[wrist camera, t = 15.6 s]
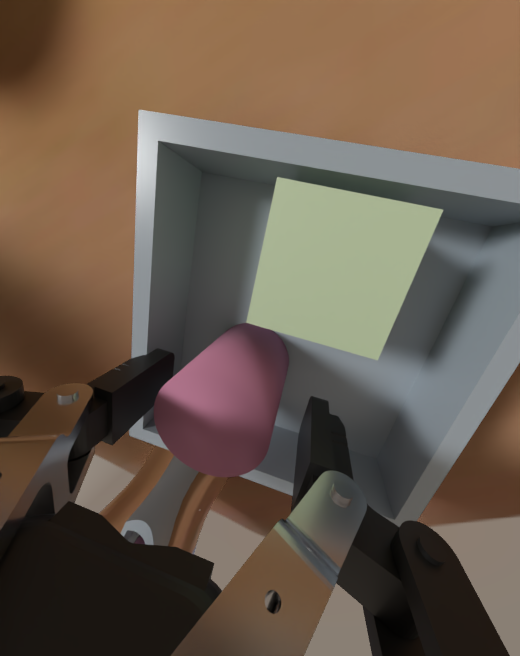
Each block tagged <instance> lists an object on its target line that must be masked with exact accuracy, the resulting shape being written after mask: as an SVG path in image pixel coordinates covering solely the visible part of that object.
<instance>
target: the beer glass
mask: <svg viewBox="0 0 520 656" xmlns="http://www.w3.org/2000/svg"><path fill="white" fill-rule="evenodd" d="M227 480H228V477H215V476H211V475H207V474H204V473H201V472H199V471H196V470H194V469H192V468H190V467H189V466H187V465H186V464H184V463H183V462H181V461H180V460H179V459H178V458H176V457H175V456H174V455H173V454H172V453H171V452H170V450H167V449H164V448H161V447H159V446H156V445H155V446H154V448H153V449H152V451H151V453H150V455H149V457H148V458H147V460H146V462H145V463H144V465H143V466H142V468H141V469H140V470H139V472H138V473H137V474H136V476H135V477H134V478H133V479H132V480H131V481H130V483H129V484H128V485H127V486H126V487H125V488H124V489H123V490H122V491H121V492H120V493H119V494H118V495H117V496H116V497H115V498H114V499H113V500H112V501H111V502H110V503H109V504H108V505H106V506H105V507H104V508H103V509H102V510H101V511H100V512H99V513H98V514H101V515H102V516H103V517H104V518H105V519H106V520H107V521H108V522H109V523H110V524H111V525H112V526H113V527H114V528H115V529H116V530H117V531H118V532H119V533H120V534H121V535H122V536H123V537H124V538H125V539H126V540H128V541H129V542H131V543H135V544H147V545H160V546H172V547H178V548H180V549H182V550H185V551H187V552H189V553H192V554H194V553H195V549H196V546H197V542H198V538H199V535H200V532H201V530H202V527H203V524H204V521H205V519H206V517H207V514H208V512H209V510H210V508H211V506H212V505H213V503H214V501H215V500H216V498H217V496H218V495H219V493H220V492H221V490H222V488H223V487H224V485H225V483H226V482H227Z"/></svg>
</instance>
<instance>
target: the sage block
mask: <svg viewBox="0 0 520 656" xmlns="http://www.w3.org/2000/svg"><path fill="white" fill-rule="evenodd" d="M442 212H443V210H442V209H437V208H432V207H427V206H422V205H417V204H412V203H407V202H402V201H397V200H392V199H387V198H381V197H376V196H371V195H366V194H361V193H356V192H351V191H346V190H341V189H336V188H331V187H326V186H321V185H315V184H310V183H305V182H300V181H295V180H290V179H285V178H280V177H277V180H276V185H275V189H274V194H273V199H272V203H271V208H270V213H269V218H268V222H267V227H266V232H265V236H264V241H263V246H262V250H261V255H260V260H259V265H258V269H257V274H256V279H255V283H254V288H253V293H252V297H251V302H250V307H249V312H248V316H247V321H246V323H249V324H252V325H256V326H259V327H263V328H266V329H270V330H273V331H277V332H280V333H284V334H287V335H291V336H294V337H298V338H301V339H305V340H308V341H312V342H315V343H319V344H322V345H326V346H329V347H333V348H336V349H340V350H343V351H347V352H350V353H354V354H357V355H360V356H364V357H367V358H371V359H374V360H378V359H379V356H380V354H381V352H382V350H383V347H384V345H385V343H386V340H387V338H388V336H389V334H390V331H391V329H392V327H393V324H394V322H395V320H396V317H397V315H398V313H399V311H400V308H401V306H402V304H403V301H404V299H405V297H406V295H407V292H408V290H409V288H410V285H411V283H412V281H413V279H414V276H415V274H416V272H417V269H418V267H419V265H420V263H421V260H422V258H423V256H424V253H425V251H426V249H427V247H428V244H429V242H430V240H431V237H432V235H433V233H434V230H435V228H436V226H437V224H438V221H439V219H440V217H441V214H442Z"/></svg>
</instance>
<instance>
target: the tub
mask: <svg viewBox="0 0 520 656" xmlns="http://www.w3.org/2000/svg"><path fill="white" fill-rule="evenodd" d="M277 177H280V178H285V179H290V180H295V181H300V182H305V183H310V184H315V185H321V186H326V187H331V188H336V189H341V190H346V191H351V192H356V193H361V194H366V195H371V196H376V197H381V198H387V199H392V200H397V201H402V202H407V203H412V204H417V205H422V206H427V207H432V208H437V209H442V210H443V212H442V214H441V217H440V219H439V221H438V224H437V226H436V228H435V230H434V233H433V235H432V237H431V240H430V242H429V244H428V247H427V249H426V251H425V253H424V256H423V258H422V260H421V263H420V265H419V267H418V269H417V272H416V274H415V276H414V279H413V281H412V283H411V285H410V288H409V290H408V292H407V295H406V297H405V299H404V301H403V304H402V306H401V308H400V311H399V313H398V315H397V317H396V320H395V322H394V324H393V327H392V329H391V331H390V334H389V336H388V338H387V340H386V343H385V345H384V347H383V350H382V352H381V354H380V356H379V359H378V360H374V359H371V358H367V357H364V356H360V355H357V354H354V353H350V352H347V351H343V350H340V349H336V348H333V347H329V346H326V345H322V344H319V343H315V342H312V341H308V340H305V339H301V338H298V337H294V336H291V335H287V334H284V333H280V332H277V331H274V332H275V333H276V334H277V335H278V336H279V337H280V338H281V339H282V341H283V342H284V344H285V346H286V348H287V351H288V355H289V366H288V371H287V375H286V379H285V383H284V388H283V392H282V396H281V400H280V404H279V408H278V412H277V416H276V420H275V425H274V429H273V433H272V437H271V441H270V445H269V449H268V452H267V454H266V456H265V458H264V460H263V461H262V462H261V463H260V464H259V465H258V466H257V467H256V468H255V469H253V470H252V471H250V472H248V473H246V474H243V475H240V477H243V478H245V479H248V480H251V481H253V482H256V483H259V484H262V485H264V486H267V487H270V488H272V489H275V490H278V491H281V492H283V493H286V494H289V495H291V496H293V486H294V475H295V465H296V454H297V443H298V435H299V430H300V426H301V423H302V420H303V417H304V414H305V411H306V408H307V405H308V402H309V399H310V397H311V396H314V397H318V398H321V399H324V400H327V401H328V402H329V412H330V414H332V415H336V416H338V417H339V418H340V420H341V421H342V423H343V425H344V426H345V431H346V438H347V443H348V446H347V447H348V449H349V455H350V461H351V467H352V473H353V479H354V481H355V482H356V483H357V484H358V486H359V487H360V488H361V490H362V491H363V493H364V495H365V498H366V501H367V504H368V505H369V506H370V507H371V508H372V509H373V510H375V511H376V512H377V513H379V514H380V515H382V516H383V517H385V518H386V519H388V520H389V521H391V522H392V523H394V524H395V525H397V526H398V527H400V526H401V524H402V523H403V522H405V521H408V520H412V521H417V520H418V518H419V517H420V515H421V514H422V512H423V511H424V509H425V507H426V506H427V504H428V503H429V501H430V500H431V498H432V497H433V495H434V494H435V492H436V491H437V489H438V487H439V486H440V484H441V483H442V481H443V480H444V478H445V477H446V475H447V474H448V472H449V471H450V469H451V467H452V466H453V464H454V463H455V461H456V460H457V458H458V457H459V455H460V454H461V452H462V451H463V449H464V447H465V446H466V444H467V443H468V441H469V440H470V438H471V437H472V435H473V434H474V432H475V431H476V429H477V427H478V426H479V424H480V423H481V421H482V420H483V418H484V417H485V415H486V414H487V412H488V411H489V409H490V407H491V406H492V404H493V403H494V401H495V400H496V398H497V397H498V395H499V394H500V392H501V391H502V389H503V388H504V386H505V384H506V383H507V381H508V380H509V378H510V377H511V375H512V374H513V372H514V371H515V369H516V368H517V366H518V364H519V363H520V169H516V168H510V167H504V166H497V165H491V164H484V163H478V162H472V161H465V160H459V159H452V158H446V157H440V156H433V155H427V154H420V153H414V152H407V151H401V150H395V149H388V148H382V147H375V146H369V145H363V144H356V143H350V142H343V141H337V140H331V139H324V138H318V137H311V136H305V135H299V134H292V133H286V132H279V131H273V130H266V129H260V128H254V127H247V126H241V125H234V124H228V123H222V122H215V121H209V120H202V119H196V118H190V117H183V116H177V115H170V114H164V113H157V112H151V111H145V110H139V119H138V153H137V187H136V221H135V254H134V288H133V322H132V356H131V358H134V357H138V356H142V355H147V354H149V353H150V352H152V351H153V350H155V349H157V348H159V349H162V350H166V351H169V352H172V353H174V356H175V360H174V370H173V377H174V376H175V375H176V374H177V373H178V372H179V371H180V370H182V369H183V368H184V367H185V366H186V365H187V364H189V363H190V362H191V361H192V360H193V359H194V358H195V357H197V356H198V355H199V354H200V353H201V352H202V351H204V350H205V349H206V348H207V347H208V346H209V345H211V344H212V343H213V342H214V341H215V340H216V339H217V338H219V337H220V336H221V335H222V334H223V333H224V332H226V331H227V330H228V329H229V328H231V327H233V326H235V325H238V324H242V323H246V321H247V316H248V312H249V307H250V302H251V297H252V293H253V288H254V283H255V279H256V274H257V269H258V265H259V260H260V255H261V250H262V246H263V241H264V236H265V232H266V227H267V222H268V218H269V213H270V208H271V203H272V199H273V194H274V189H275V185H276V180H277ZM272 331H273V330H272ZM129 436H132V437H134V438H137V439H140V440H142V441H145V442H148V443H151V444H153V445H156V446H159V447H161V448H164V449H167V450H169V449H168V448H167V447H166V445H165V444H164V443H163V441H162V439H161V437H160V436H159V433H158V431H157V428H156V425H155V421H154V406H153V407H152V408H151V409H150V410H149V411H148V412H147V413H146V414H145V415H144V416H143V417H142V418H141V419H140V420H138V421H137V422H136V423H135V424H134V425H133V426H132V427H131V428H130V429H129Z"/></svg>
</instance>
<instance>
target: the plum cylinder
mask: <svg viewBox="0 0 520 656" xmlns="http://www.w3.org/2000/svg"><path fill="white" fill-rule="evenodd" d="M288 366H289V355H288V351H287V348H286V346H285V344H284V342H283V341H282V339H281V338H280V337H279V336H278V335H277V334H276V333H275V332H274V331H272V330H270V329H266V328H263V327H259V326H256V325H252V324H249V323H242V324H238V325H235V326H233V327H231V328H229V329H228V330H227V331H226V332H224V333H223V334H222V335H221V336H220V337H219V338H217V339H216V340H215V341H214V342H213V343H212V344H211V345H209V346H208V347H207V348H206V349H205V350H204V351H202V352H201V353H200V354H199V355H198V356H197V357H195V358H194V359H193V360H192V361H191V362H190V363H189V364H187V365H186V366H185V367H184V368H183V369H182V370H180V371H179V372H178V373H177V374H176V375H175V376H174V377H172V378H171V379H170V380H169V381H168V382H167V383H166V384H165V385H164V386H163V387H162V388H161V389H160V391H159V393H158V395H157V397H156V400H155V403H154V421H155V425H156V428H157V431H158V433H159V436H160V437H161V439H162V441H163V443H164V444H165V445H166V447H167V448H168V449H169V450H170V452H171V453H172V454H173V455H174V456H175V457H176V458H178V459H179V460H180V461H181V462H183V463H184V464H186V465H187V466H189V467H190V468H192V469H194V470H196V471H199V472H201V473H204V474H207V475H211V476H215V477H236V476H240V475H243V474H246V473H248V472H250V471H252V470H253V469H255V468H256V467H257V466H258V465H259V464H260V463H261V462H262V461H263V460H264V458H265V456H266V454H267V452H268V449H269V445H270V441H271V437H272V433H273V429H274V425H275V420H276V416H277V412H278V408H279V404H280V400H281V396H282V392H283V388H284V383H285V379H286V375H287V371H288Z"/></svg>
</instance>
